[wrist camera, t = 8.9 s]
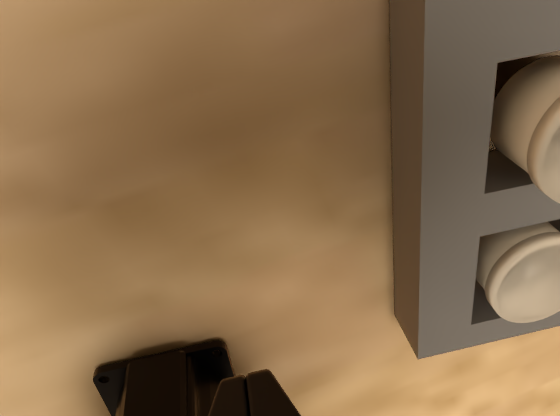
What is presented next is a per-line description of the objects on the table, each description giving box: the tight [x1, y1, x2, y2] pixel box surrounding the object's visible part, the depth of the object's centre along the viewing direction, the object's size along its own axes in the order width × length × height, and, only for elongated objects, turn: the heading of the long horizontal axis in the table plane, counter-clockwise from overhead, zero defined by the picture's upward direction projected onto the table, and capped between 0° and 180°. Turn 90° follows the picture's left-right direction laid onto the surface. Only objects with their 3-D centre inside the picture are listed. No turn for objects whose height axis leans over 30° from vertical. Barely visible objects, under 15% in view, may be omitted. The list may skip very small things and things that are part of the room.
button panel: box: [389, 0, 560, 359], centre depth 19 cm, size 22×10×3 cm, turn 8°
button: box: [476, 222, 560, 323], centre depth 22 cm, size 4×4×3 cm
